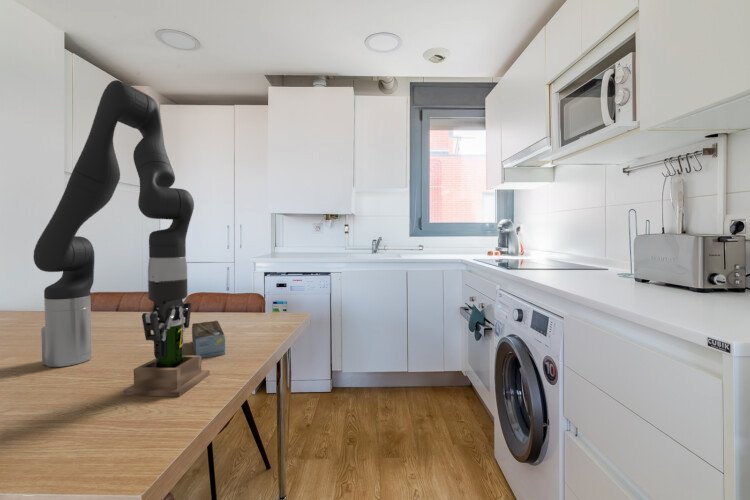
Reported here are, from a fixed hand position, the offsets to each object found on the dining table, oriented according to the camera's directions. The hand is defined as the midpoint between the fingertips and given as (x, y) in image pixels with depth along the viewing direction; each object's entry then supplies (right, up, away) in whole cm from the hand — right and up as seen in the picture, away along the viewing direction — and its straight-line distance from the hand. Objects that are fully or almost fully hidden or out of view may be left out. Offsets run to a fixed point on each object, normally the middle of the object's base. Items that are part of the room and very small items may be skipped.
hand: (169, 353), depth 79 cm
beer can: (0, -5, 0) cm, 5 cm away
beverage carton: (-4, -7, +27) cm, 28 cm away
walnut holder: (0, -7, 0) cm, 7 cm away
